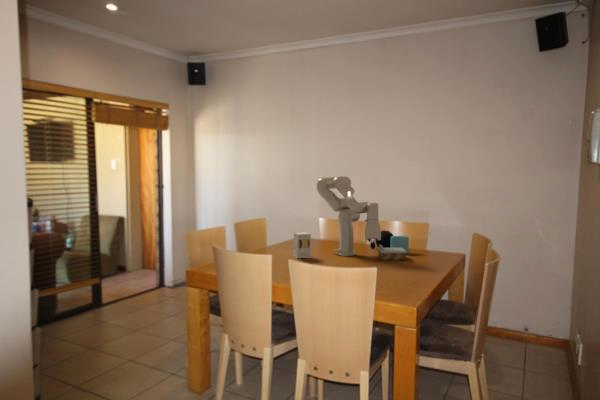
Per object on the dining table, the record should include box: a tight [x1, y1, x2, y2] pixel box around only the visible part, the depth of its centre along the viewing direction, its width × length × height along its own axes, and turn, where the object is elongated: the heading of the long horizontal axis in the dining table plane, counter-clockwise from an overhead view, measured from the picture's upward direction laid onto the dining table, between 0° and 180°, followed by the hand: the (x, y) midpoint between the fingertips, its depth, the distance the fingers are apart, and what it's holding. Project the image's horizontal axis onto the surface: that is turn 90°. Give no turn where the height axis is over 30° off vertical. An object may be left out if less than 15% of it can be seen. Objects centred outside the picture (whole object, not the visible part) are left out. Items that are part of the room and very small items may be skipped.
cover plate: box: [377, 245, 406, 253], centre depth 280 cm, size 16×13×5 cm
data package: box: [390, 235, 410, 255], centre depth 298 cm, size 12×4×12 cm, turn 93°
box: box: [377, 250, 407, 261], centre depth 280 cm, size 16×11×5 cm
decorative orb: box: [375, 229, 394, 248], centre depth 312 cm, size 14×15×15 cm
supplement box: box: [293, 231, 312, 260], centre depth 285 cm, size 10×9×17 cm
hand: (372, 248), depth 280 cm, fingers closed
